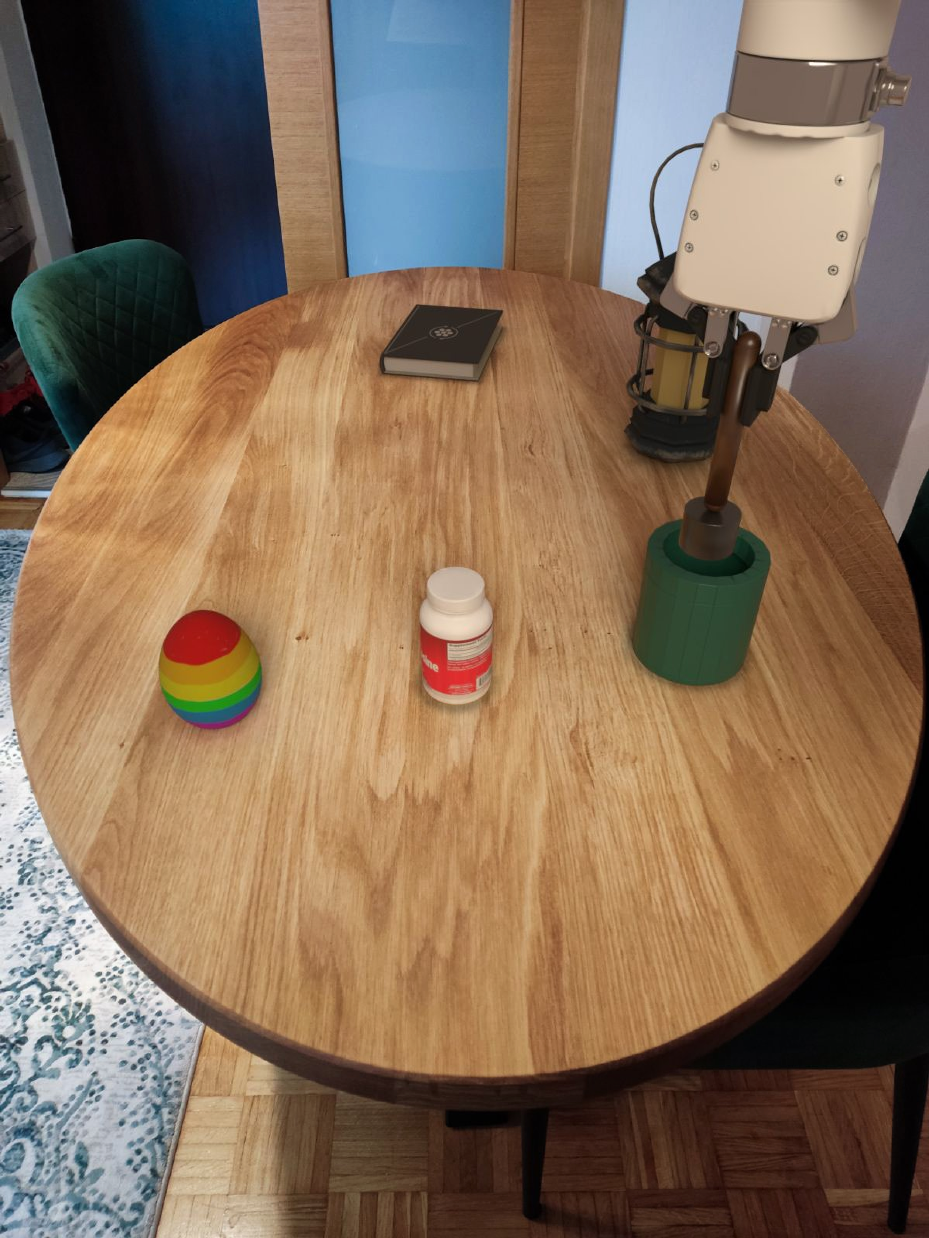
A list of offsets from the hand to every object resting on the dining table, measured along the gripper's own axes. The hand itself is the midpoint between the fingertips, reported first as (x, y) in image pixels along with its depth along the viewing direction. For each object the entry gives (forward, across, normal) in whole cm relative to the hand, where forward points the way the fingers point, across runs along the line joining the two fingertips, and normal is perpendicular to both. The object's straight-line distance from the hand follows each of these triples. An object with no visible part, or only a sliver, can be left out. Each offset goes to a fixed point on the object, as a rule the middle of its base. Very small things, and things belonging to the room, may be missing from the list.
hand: (734, 412), depth 58 cm
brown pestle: (+11, 0, 0) cm, 11 cm away
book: (+28, +58, -58) cm, 87 cm away
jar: (+27, +1, -8) cm, 29 cm away
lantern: (+28, +16, -44) cm, 55 cm away
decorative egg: (+28, +34, +19) cm, 48 cm away
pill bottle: (+28, +18, +6) cm, 33 cm away
